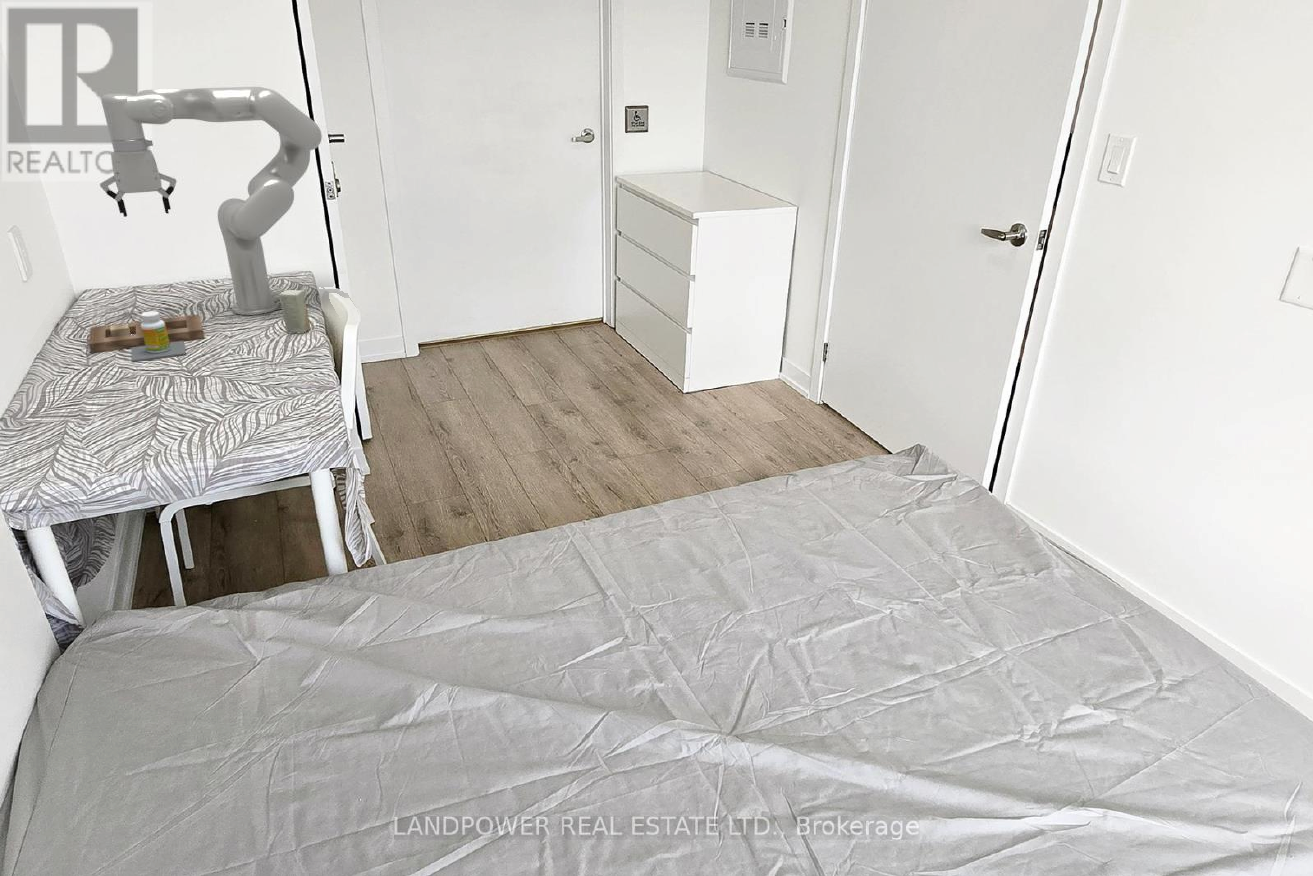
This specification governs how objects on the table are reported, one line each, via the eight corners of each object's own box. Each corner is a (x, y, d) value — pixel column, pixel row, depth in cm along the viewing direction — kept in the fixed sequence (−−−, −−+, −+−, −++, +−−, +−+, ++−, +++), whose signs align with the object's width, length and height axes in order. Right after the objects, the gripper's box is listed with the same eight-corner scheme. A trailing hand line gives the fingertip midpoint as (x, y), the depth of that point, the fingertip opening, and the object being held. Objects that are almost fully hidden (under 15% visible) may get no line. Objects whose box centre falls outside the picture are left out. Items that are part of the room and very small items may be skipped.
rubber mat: (184, 342, 225) (183, 340, 225) (186, 354, 217) (185, 352, 217) (132, 349, 220) (131, 347, 219) (132, 362, 212) (131, 360, 212)
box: (311, 328, 237) (304, 290, 232) (303, 334, 233) (297, 294, 228) (293, 327, 237) (286, 289, 232) (285, 333, 233) (278, 293, 228)
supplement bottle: (163, 354, 216) (154, 317, 212) (142, 353, 216) (133, 316, 212) (175, 346, 221) (166, 310, 216) (154, 345, 221) (145, 309, 216)
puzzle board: (201, 322, 239) (199, 314, 238) (204, 338, 228) (202, 329, 227) (92, 336, 227) (90, 327, 226) (91, 353, 216) (88, 344, 215)
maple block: (131, 337, 227) (128, 323, 226) (131, 342, 224) (128, 328, 222) (114, 339, 226) (110, 325, 224) (114, 344, 223) (110, 330, 221)
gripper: (167, 142, 223) (182, 208, 231) (90, 145, 216) (108, 214, 223) (169, 146, 218) (184, 214, 225) (89, 149, 210) (108, 219, 218)
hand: (146, 214), depth 224 cm, fingers open, 9 cm apart
